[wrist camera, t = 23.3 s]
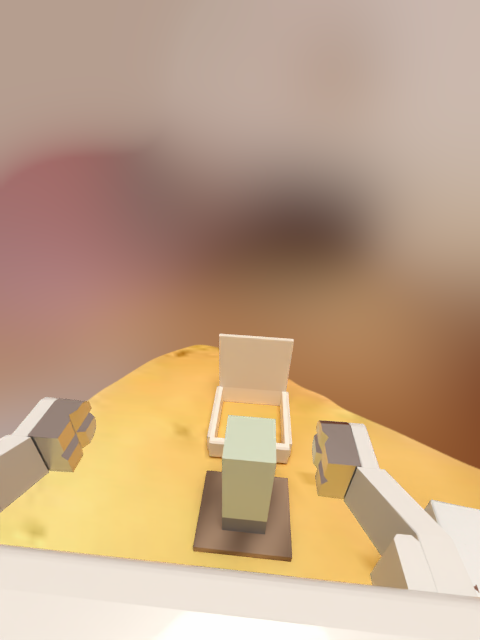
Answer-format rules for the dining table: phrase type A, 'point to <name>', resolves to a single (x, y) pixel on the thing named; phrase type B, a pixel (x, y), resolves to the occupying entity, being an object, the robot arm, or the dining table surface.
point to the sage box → (248, 473)
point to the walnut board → (243, 543)
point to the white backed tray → (253, 383)
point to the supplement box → (461, 534)
